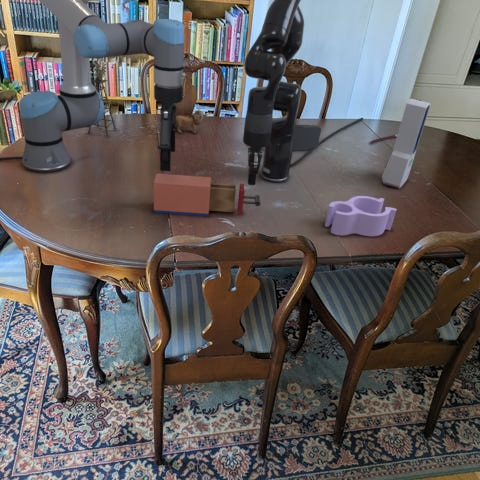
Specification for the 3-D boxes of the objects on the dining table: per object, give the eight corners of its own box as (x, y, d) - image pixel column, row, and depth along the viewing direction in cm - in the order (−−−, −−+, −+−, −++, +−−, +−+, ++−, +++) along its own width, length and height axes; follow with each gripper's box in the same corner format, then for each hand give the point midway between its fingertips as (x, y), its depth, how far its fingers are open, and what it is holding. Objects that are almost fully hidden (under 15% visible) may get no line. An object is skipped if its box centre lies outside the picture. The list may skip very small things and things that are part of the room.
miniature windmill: (107, 136, 184) (102, 57, 168) (87, 133, 185) (80, 54, 169) (116, 129, 192) (112, 52, 176) (97, 126, 193) (91, 49, 177)
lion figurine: (200, 128, 202) (201, 108, 197) (204, 133, 198) (205, 112, 193) (167, 129, 197) (167, 108, 192) (170, 134, 193) (170, 113, 188)
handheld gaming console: (315, 147, 196) (319, 124, 190) (317, 149, 194) (322, 126, 188) (264, 149, 189) (267, 125, 183) (266, 152, 187) (269, 127, 181)
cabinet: (209, 206, 145) (211, 177, 140) (208, 216, 140) (210, 186, 135) (156, 202, 144) (156, 173, 139) (153, 212, 139) (153, 182, 133)
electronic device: (399, 190, 168) (424, 107, 152) (379, 183, 171) (402, 102, 155) (408, 178, 177) (433, 100, 161) (389, 173, 180) (411, 95, 164)
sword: (407, 132, 223) (408, 129, 223) (413, 134, 221) (413, 131, 221) (364, 143, 208) (365, 141, 207) (370, 146, 206) (370, 143, 205)
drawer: (258, 208, 145) (261, 184, 141) (259, 216, 141) (262, 192, 137) (192, 203, 144) (193, 179, 140) (191, 211, 140) (192, 187, 135)
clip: (337, 240, 135) (342, 219, 131) (318, 218, 145) (322, 198, 141) (395, 233, 141) (402, 213, 137) (373, 213, 151) (378, 194, 147)
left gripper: (179, 100, 112) (177, 180, 123) (186, 74, 132) (184, 145, 144) (147, 97, 111) (148, 178, 122) (159, 72, 132) (159, 143, 143)
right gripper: (273, 137, 123) (265, 195, 133) (269, 120, 134) (262, 175, 144) (245, 134, 123) (239, 193, 132) (243, 118, 134) (238, 173, 143)
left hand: (167, 160), depth 133 cm, fingers open, 13 cm apart
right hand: (251, 183), depth 138 cm, fingers closed
